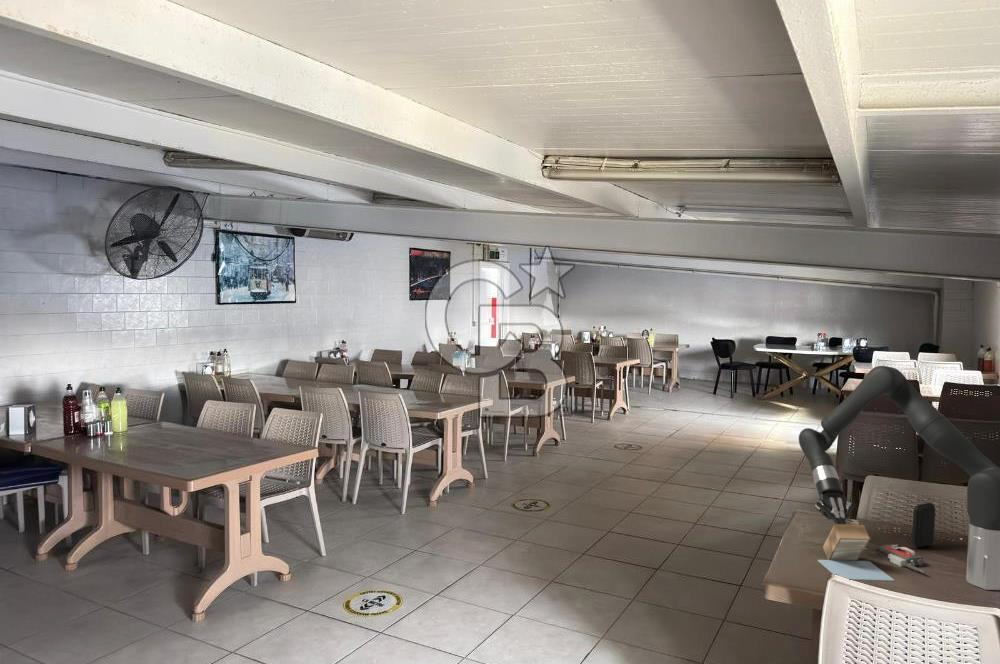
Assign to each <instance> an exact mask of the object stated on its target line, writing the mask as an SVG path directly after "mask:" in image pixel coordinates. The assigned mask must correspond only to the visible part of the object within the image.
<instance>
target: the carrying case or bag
mask: <svg viewBox="0 0 1000 664" xmlns="http://www.w3.org/2000/svg"><path fill="white" fill-rule="evenodd" d="M936 514H937V513H936V507H935V504H933V503H932V502H925V503H921V504H917V505H915V506H914V508H913V512H912V535H911V537H912V538H911V544H912V546H913V547H914V548H915V549H921V548H920V547H922V548H924V546H926V547H929V546H931V545H933V543H934V539H935V526H936V525H935V524H936ZM928 545H929V546H928ZM918 547H919V548H918Z"/></svg>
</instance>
